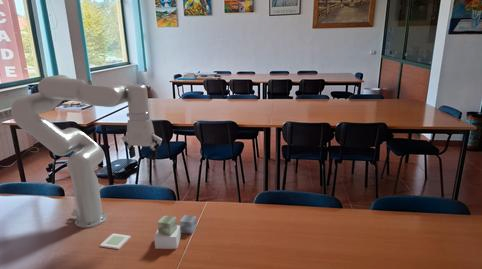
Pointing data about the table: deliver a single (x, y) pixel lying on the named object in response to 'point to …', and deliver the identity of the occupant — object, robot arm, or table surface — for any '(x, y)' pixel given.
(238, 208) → the table surface
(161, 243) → the grey base block
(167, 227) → the sage block
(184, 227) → the slate block
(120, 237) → the card
